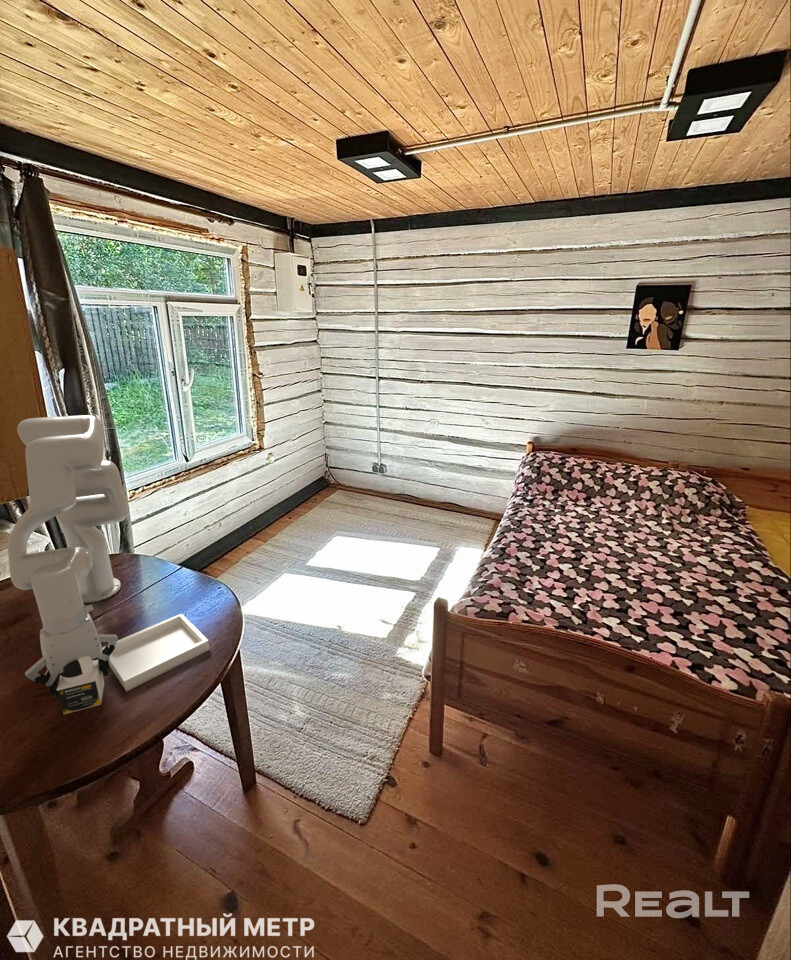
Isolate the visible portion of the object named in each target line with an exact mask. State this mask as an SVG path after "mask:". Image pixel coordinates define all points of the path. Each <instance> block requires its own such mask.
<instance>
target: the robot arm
mask: <svg viewBox="0 0 791 960" xmlns="http://www.w3.org/2000/svg"><path fill="white" fill-rule="evenodd" d="M16 431H17V435H18V437H19V439H20V440H21V442H22V443H23V445H25V446H26V447H25V463H26V475H27V486H28V494H29V506H28V508H27V510H26V511H25V512H23V514H22V515H21V516H20V517H19V519H17V521H16V522H15V524H14V526H13V528H12V530H11V532H10V535H9V538H8V542H7V555H8V556H7V557H8V558H7V559H8V568H9V569H8V570H9V575H10V576H9V577H10V580H11V583H12V584H13V586H14V587H16V588H17V589H18V590H22V591H23V590H24V591H26V590H27V591H28V590H33V594H34V596H35V597H34V598H35V601H36V605H37V607H38V613H39V615H40V619H41V622H42V628H41V629H40V631H39V642H40V649H41V654H42V657H41V658H39V660H38V661H37V662H35V663H34V664H33V665H31V666H30V668H29V669H28V670H26V671H25V672H24V675H25V676H26V678H27V679H29V680H31V681H33V682H35V684H40V685H44V686H46V687H47V690H48V692H49V696H51V697H52V696H54V697H55V699H56V700H59V697H58V693H57V686H58V683H57V682H56V679H57V678H58V675H59V674H60V673H62V672H63V668H64V666H66V665H67V664H69V663H71V662H73V661H75V660H77V659H80V658H82V657H87V656H89V657H90V658H91V660H94V659H96V658H97V660H99V662H100V666H101V671H102V675H103V677H108V676H110V673H109V670H110V669H111V668H110V665H109V661H108V660H109V658H110V657H109V656H110V655H111V653H112V652H113V650H114V649H115V645H116V643H117V641H118V640H119V637H118V636H117V634H104V633H103V634H99V633H98V630H97V628H96V625H95V624H94V620H93V618H92V617H91V615H90V612H92V611H94V606H93V605H92V604H89V605H88V604H87V605H85V604H86V603H95V602H100V601H103V600H106V599H108V598H110V597H112V596H113V595H115V594H117V592H119V590H120V589H121V588H122V587H121V586H122V584H121V581H120V580H119V579H117V578H115V577H114V575H113V568H112V564H111V560H110V556H109V550H108V545H107V540H106V537H105V535H104V533H103V532H102V531H101V530H100V529H98V528H97V527H98V526H103V525H110V524H116V523H120V522H122V521H124V520H125V519H126V518H127V515H128V506H127V504H128V503H127V499H126V496H125V491H124V488H123V487H124V486H123V482H122V478H121V473H120V470H119V469H118V467H117V465H116V464H115V463H114V462H113V461H111V460H106V459H105V460H103V459H104V448H105V447H104V445H105V444H104V442H105V432H104V426H103V424H102V421H101V420H100V419H99V418H98V417H97V416H95V415H92V414H91V415H90V414H85V415H84V414H83V415H82V414H79V415H67V416H65V415H64V416H46V417H33V418H27V419H23V420H21V421H20V422H19V423H18V425H17V427H16ZM55 517H56V520H57V522H58V524H59V527H60V528H61V531H62V533H63V535H64V539H65V542H66V546H67V547H63V548H58V549H50V550H45V551H39V552H38V551H37V552H33V553H28V551H27V547H28V541H29V539H30V537H31V535H32V534H33V533H34V532H35V530H37V529H38V527H40V526H41V525H43V524H44V523H46V522H48V521H49V520H51V519H53V518H55ZM102 643H107V646H106V645H105V646H106V647H105V649H104V650H103V649H102V647H103V645H102ZM44 667H46V669H47V670H46V671H45V672H44V674H43V673H39V672H40V671H41V670H42V669H43V668H44ZM60 675H61V674H60Z"/></svg>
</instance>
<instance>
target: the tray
mask: <svg viewBox="0 0 791 960" xmlns="http://www.w3.org/2000/svg"><path fill="white" fill-rule="evenodd" d="M106 646H107V645H103V646H102V649H103V650H104V649H105V647H106ZM208 651H210V644H209V639H208V638H207V637H206V636H205V635H204V634H203V633H202V632H201V631H200V630H199V629H198V628H197V627H196V626H195V625H194V624H193V623H192V622H191V620H189V619H188V618H187V617H186V616H185V615H184V614H183V613H179V614H177V615H174V616H172V617H170V618H167V619H165V620H162V621H160V622H157V623H155V624H153V625H151V626H148V627H146V628H144V629H142V630H140V631H137V632H135V633H131V634H130V635H127V636H126V637H122V638H121V639H118V640H117V643H116V645H115V649H114V650H113V652H112V653H111V655H110V656H109V657H110V658H109V660H108V661H109V665H110V669H111V671H112V672H113V674H114V675H115V677H116V678H117V680H118V681H119V683H120V684H121V686H122V687H123V689H124V691H125V692H128V691H131V690H133V689H134V688H137V687H138V686H140V685H142V684H145V683H147V682H149V681H150V680H153V679H155V678H157V677H158V676H161V675H163V674H164V673H166V672H170V670H172V669H175V668H177V667H179V666H180V665H182V664H184V663H187V662H188V661H189V662H190V660H192V659H194V658H196V657H199V656H200V655H202V654H204V653H207V652H208Z"/></svg>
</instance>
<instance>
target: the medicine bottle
mask: <svg viewBox="0 0 791 960" xmlns="http://www.w3.org/2000/svg"><path fill="white" fill-rule="evenodd" d="M104 687H105V679H104V674H103V672H102V671H101V666H100V662H99V659H96V660H94V659H92V660H91V658H90V657H89V656H87V657H82V658H80V659H77V660H75V661H73V662H71V663H69V664H67V665H66V666H64V668H63V672H62V673H60V675H59V678H58V683H57V693H58V697H59V699H58V700H59V703H60V707H61V710H62V711H61V712H62V713H63V715H67V714H71V713H74V712H75V713H76V712H79V711H81V710H82V711H83V710H86V709H89V708H92V707H97V706H100V705H102V700H103V696H104V695H103V694H104V689H105V688H104Z"/></svg>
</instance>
